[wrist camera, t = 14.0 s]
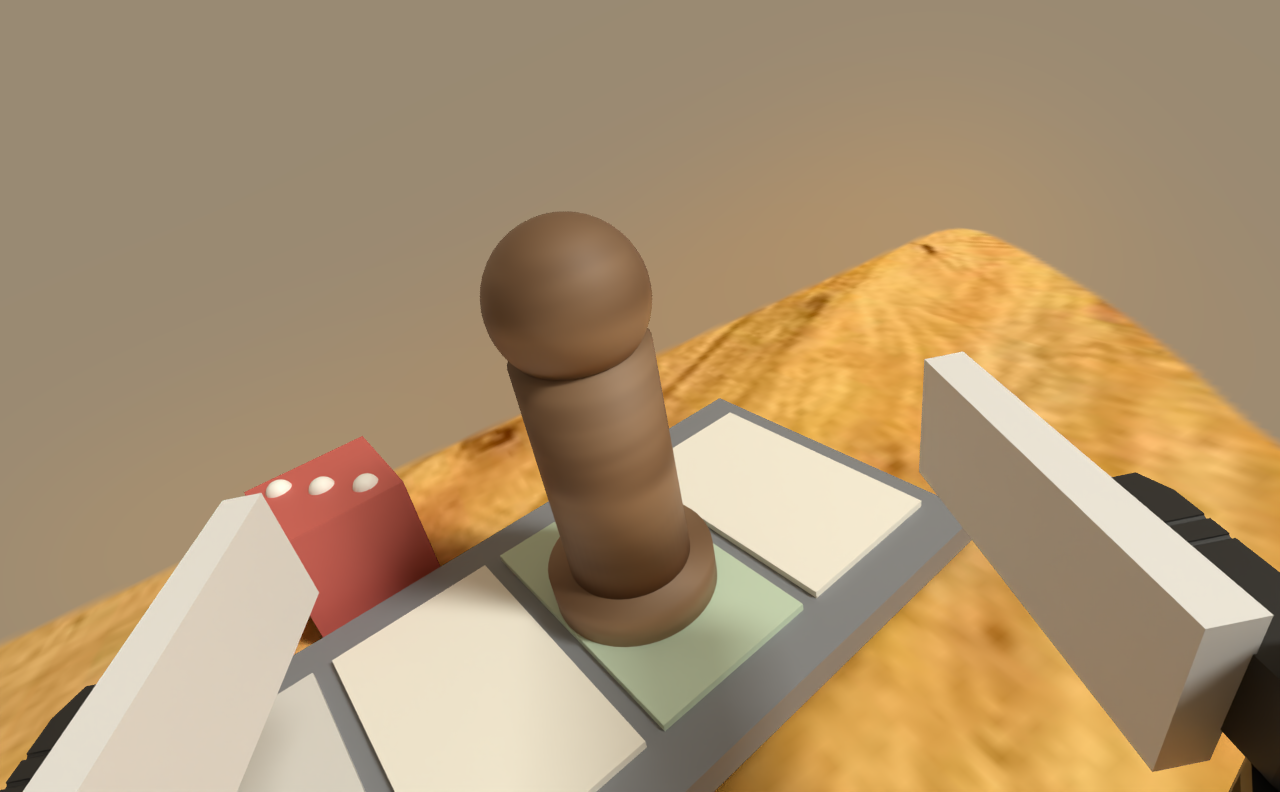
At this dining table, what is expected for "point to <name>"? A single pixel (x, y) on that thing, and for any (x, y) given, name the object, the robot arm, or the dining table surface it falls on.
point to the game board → (605, 675)
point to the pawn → (598, 428)
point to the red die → (350, 530)
